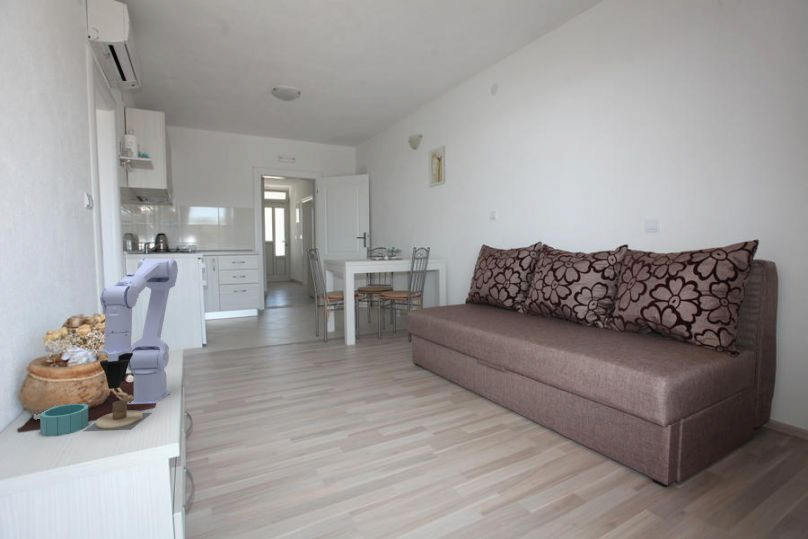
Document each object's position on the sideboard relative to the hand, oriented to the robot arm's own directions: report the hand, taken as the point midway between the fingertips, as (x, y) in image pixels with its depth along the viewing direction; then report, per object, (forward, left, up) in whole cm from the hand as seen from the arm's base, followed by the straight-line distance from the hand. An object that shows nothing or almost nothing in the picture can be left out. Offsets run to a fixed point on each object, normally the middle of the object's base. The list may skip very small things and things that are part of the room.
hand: (116, 384), depth 103 cm
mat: (-1, 0, -11) cm, 11 cm away
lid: (-1, 0, -10) cm, 10 cm away
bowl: (+2, -11, -11) cm, 15 cm away
